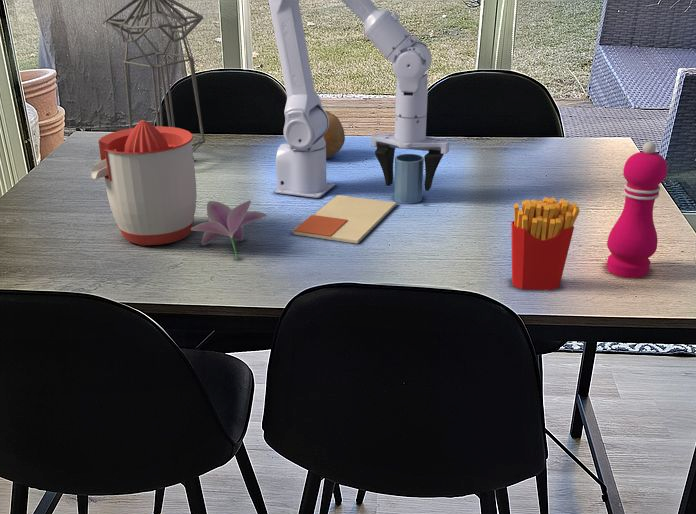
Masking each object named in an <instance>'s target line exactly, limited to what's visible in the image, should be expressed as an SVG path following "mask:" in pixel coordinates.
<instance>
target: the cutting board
mask: <svg viewBox="0 0 696 514" xmlns="http://www.w3.org/2000/svg"><path fill="white" fill-rule="evenodd" d="M396 206H397V202H396V201H390V200H389V201H388V200H380V199H372V198H365V197H356V196H349V195H348V196H347V195H340V194H337V195H335V196H334V197H333V198H332V199H330V200H329V201H328V202H327V203H326V204H325V205H323V206H322V207H321V208H320V209H319V210H318V211H316V212H315V213H314V214H311V215H310V216H309V217H308V218H305V220H304V221H302V223H300V224H299V225H298V226H297V227H295V228H294V229H293V231H292V232H293V235H296V236H300V237H301V236H302V237H309V238H316V239H323V240H327V241H328V240H329V241H337V242H343V243H350V244H356V245H357V244H359V243H360V242H361V241H362V240H363V239H364V238H365V237H366V236H367V235H368V234H369V233H370V232H371V231H372V230H373V229H374V228H375V227H376V226H377V225H378V224H379V223H380V222H381V221H382V220H383V219H384V218H385V217H386V216H387V215H388V214H389V213H390V212H391V211H392V210H393V209H394V208H395V207H396Z"/></svg>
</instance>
